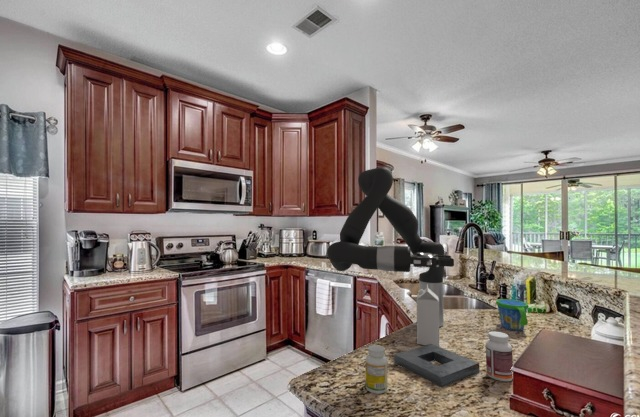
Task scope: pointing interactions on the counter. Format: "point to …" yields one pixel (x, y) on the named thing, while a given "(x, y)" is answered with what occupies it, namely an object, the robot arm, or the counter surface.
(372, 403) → the counter surface
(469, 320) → the counter surface
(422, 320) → the milk carton
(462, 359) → the holder block
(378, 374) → the supplement bottle
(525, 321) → the snack cup
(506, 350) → the pill bottle
